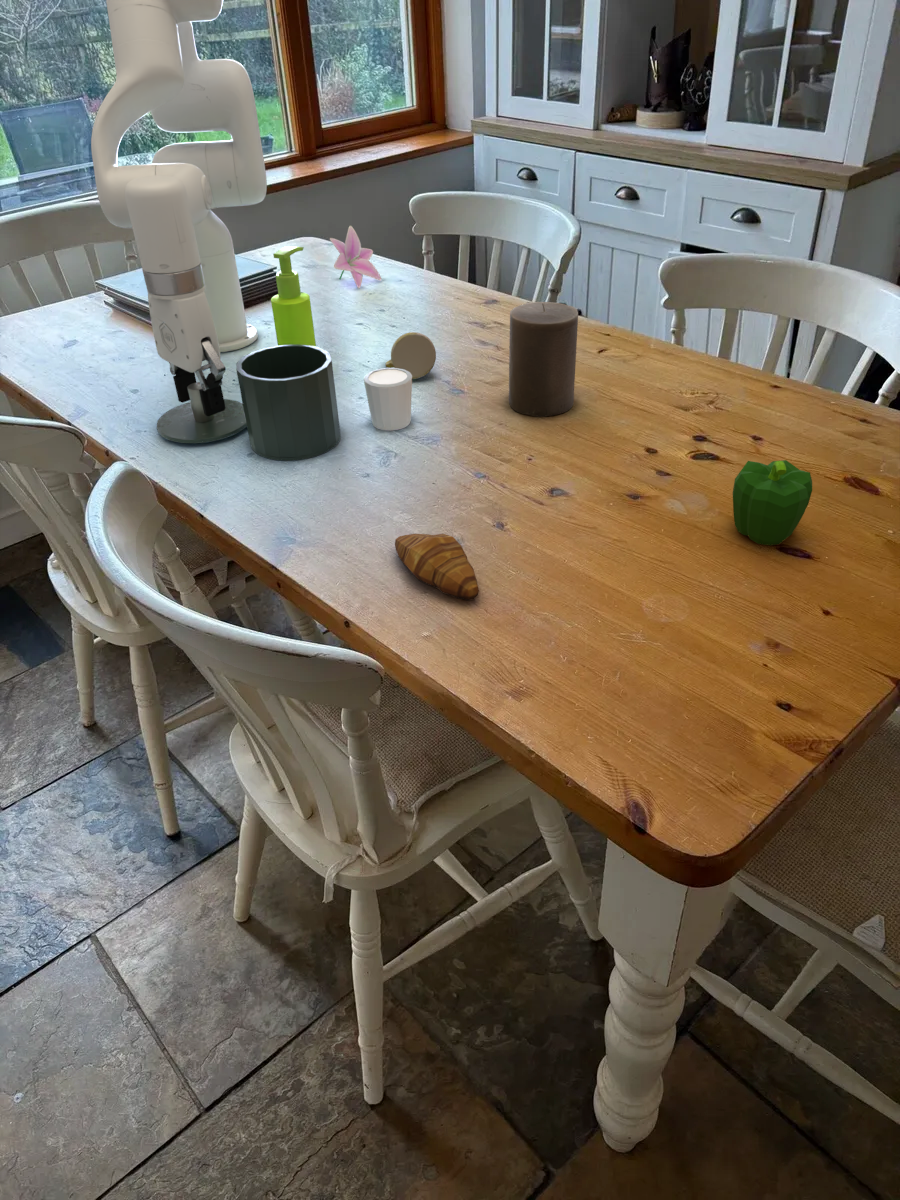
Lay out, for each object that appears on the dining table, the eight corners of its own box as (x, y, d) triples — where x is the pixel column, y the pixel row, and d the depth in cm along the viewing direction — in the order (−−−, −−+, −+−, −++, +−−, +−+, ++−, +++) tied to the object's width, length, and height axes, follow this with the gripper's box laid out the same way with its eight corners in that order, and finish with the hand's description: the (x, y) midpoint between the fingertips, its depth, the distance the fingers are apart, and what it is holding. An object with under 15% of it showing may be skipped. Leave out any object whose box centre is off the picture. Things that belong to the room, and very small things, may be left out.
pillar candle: (530, 422, 125) (533, 319, 116) (496, 398, 132) (496, 299, 123) (586, 407, 129) (593, 306, 120) (550, 384, 136) (554, 287, 127)
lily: (327, 298, 175) (343, 257, 169) (308, 261, 180) (323, 220, 174) (378, 305, 182) (396, 266, 176) (358, 269, 187) (375, 230, 181)
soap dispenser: (330, 372, 142) (314, 245, 130) (307, 388, 137) (289, 258, 125) (299, 367, 144) (281, 241, 132) (276, 383, 140) (255, 254, 127)
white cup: (421, 414, 129) (419, 369, 124) (404, 435, 124) (401, 388, 119) (378, 409, 131) (374, 364, 126) (360, 429, 125) (355, 383, 121)
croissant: (500, 590, 93) (500, 552, 90) (451, 616, 90) (449, 577, 87) (423, 538, 102) (421, 502, 99) (376, 560, 99) (372, 523, 96)
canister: (237, 458, 120) (221, 378, 113) (269, 417, 130) (256, 342, 123) (325, 463, 118) (314, 383, 111) (350, 422, 127) (342, 345, 121)
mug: (430, 356, 147) (442, 314, 138) (425, 402, 143) (437, 361, 134) (387, 347, 146) (396, 304, 137) (380, 393, 142) (389, 352, 133)
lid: (142, 444, 124) (131, 403, 120) (182, 404, 134) (173, 365, 131) (232, 449, 122) (223, 408, 118) (265, 408, 132) (259, 369, 128)
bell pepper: (736, 508, 105) (750, 432, 99) (806, 524, 102) (826, 447, 96) (715, 542, 100) (729, 464, 94) (789, 561, 96) (809, 481, 90)
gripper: (117, 273, 118) (148, 397, 129) (184, 300, 108) (212, 432, 119) (166, 261, 123) (193, 382, 133) (235, 286, 112) (258, 414, 123)
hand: (202, 404), depth 126 cm, fingers open, 6 cm apart
